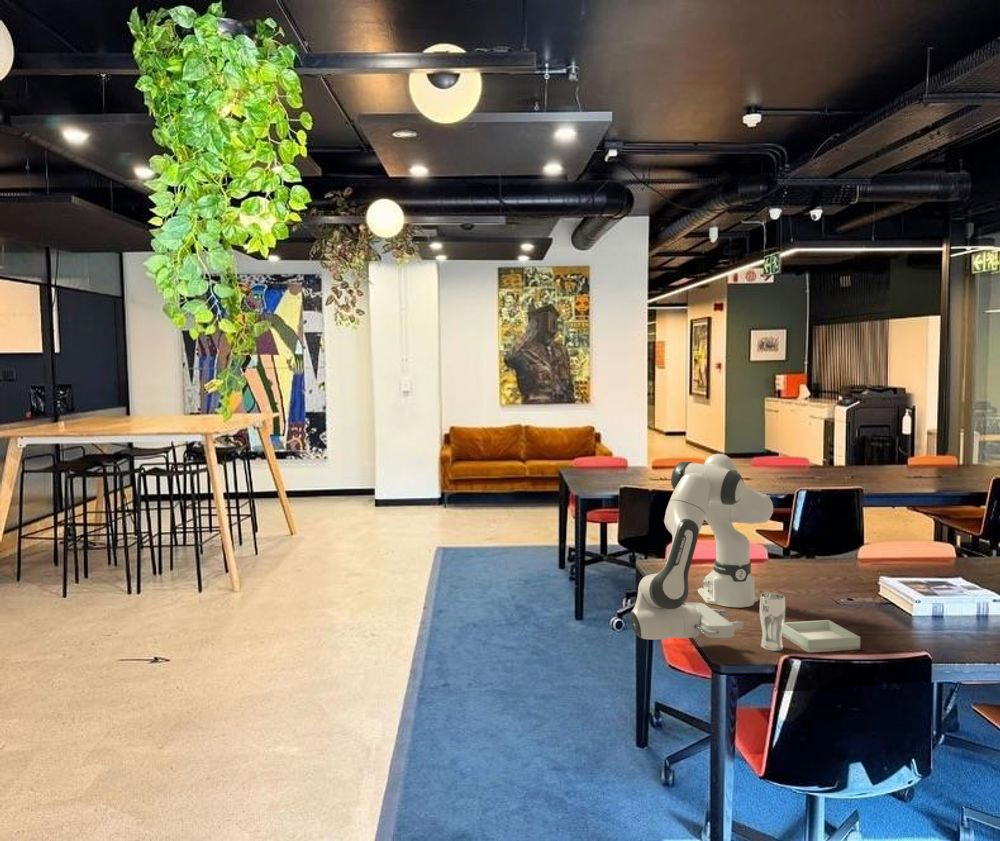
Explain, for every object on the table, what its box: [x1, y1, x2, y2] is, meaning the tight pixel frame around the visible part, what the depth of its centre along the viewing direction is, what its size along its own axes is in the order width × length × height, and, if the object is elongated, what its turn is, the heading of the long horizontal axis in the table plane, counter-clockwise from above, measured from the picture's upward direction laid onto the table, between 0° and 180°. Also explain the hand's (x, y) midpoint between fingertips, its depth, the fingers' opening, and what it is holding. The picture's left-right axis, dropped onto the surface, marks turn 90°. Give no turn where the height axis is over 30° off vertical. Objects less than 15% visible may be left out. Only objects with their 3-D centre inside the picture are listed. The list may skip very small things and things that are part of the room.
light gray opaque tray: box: [782, 619, 861, 653], centre depth 211 cm, size 15×16×4 cm
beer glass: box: [758, 592, 786, 652], centre depth 207 cm, size 7×7×15 cm
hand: (734, 618), depth 205 cm, fingers open, 8 cm apart
